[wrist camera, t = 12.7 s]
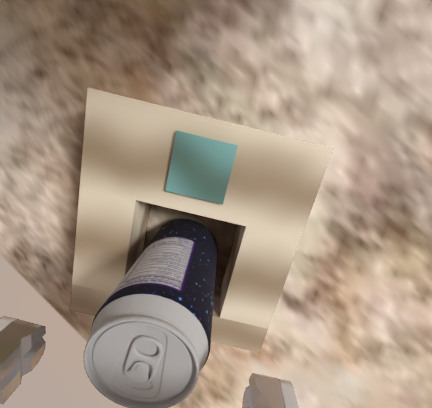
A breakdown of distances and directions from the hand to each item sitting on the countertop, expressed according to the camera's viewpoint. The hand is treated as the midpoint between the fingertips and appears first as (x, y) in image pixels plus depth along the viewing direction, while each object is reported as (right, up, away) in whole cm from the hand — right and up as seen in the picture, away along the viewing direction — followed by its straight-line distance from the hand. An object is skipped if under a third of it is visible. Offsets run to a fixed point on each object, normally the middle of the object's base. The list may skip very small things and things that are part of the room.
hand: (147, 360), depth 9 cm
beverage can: (0, +2, +12) cm, 13 cm away
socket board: (+1, +5, +12) cm, 13 cm away
